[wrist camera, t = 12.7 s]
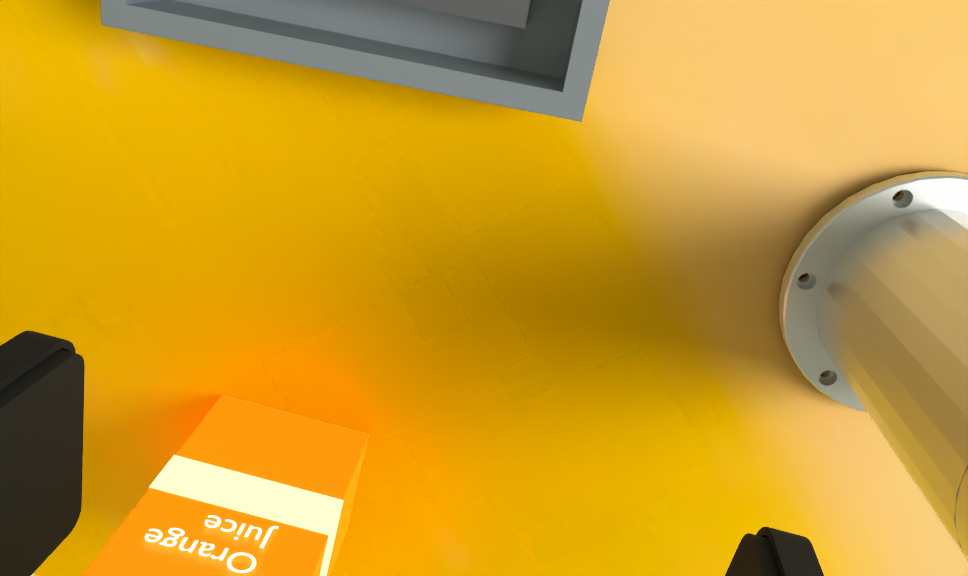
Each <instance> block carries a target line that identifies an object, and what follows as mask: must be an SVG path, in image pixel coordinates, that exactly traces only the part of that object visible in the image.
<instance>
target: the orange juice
mask: <svg viewBox="0 0 968 576" xmlns="http://www.w3.org/2000/svg"><path fill="white" fill-rule="evenodd" d="M368 438H369V433H365V432H362V431H358V430H354V429H351V428H347V427H343V426H340V425H336V424H332V423H328V422H325V421H321V420H317V419H314V418H310V417H306V416H302V415H299V414H295V413H291V412H288V411H284V410H280V409H276V408H273V407H269V406H265V405H262V404H258V403H254V402H251V401H247V400H243V399H239V398H236V397H232V396H228V395H225V394H222V395H221V397H220V398H219V399H218V400H217V402H216V403H215V404H214V406H213V407H212V408H211V410H210V411H209V412H208V413H207V415H206V416H205V417H204V419H203V420H202V421H201V422H200V424H199V425H198V426H197V428H196V429H195V430H194V431H193V433H192V434H191V435H190V437H189V438H188V439H187V440H186V442H185V443H184V444H183V446H182V447H181V448H180V449H179V451H178V452H177V453H176V455H173V457H172V458H171V459H170V461H169V462H168V463H167V464H166V466H165V467H164V468H163V469H162V471H161V472H160V473H159V475H158V476H157V477H156V478H155V480H154V481H153V482H152V484H151V485H150V486H149V489H148V491H147V492H146V493H145V495H144V496H143V497H142V498H141V500H140V501H139V502H138V504H137V505H136V506H135V507H134V509H133V510H132V511H131V513H130V514H129V515H128V516H127V518H126V519H125V520H124V522H123V523H122V524H121V525H120V527H119V528H118V529H117V531H116V532H115V533H114V534H113V536H112V537H111V538H110V540H109V541H108V542H107V543H106V545H105V546H104V547H103V549H102V550H101V551H100V552H99V554H98V555H97V556H96V558H95V559H94V560H93V561H92V563H91V564H90V565H89V567H88V568H87V569H86V570H85V572H84V573H83V574H82V576H330V575H331V573H332V570H333V567H334V564H335V562H336V559H337V556H338V554H339V551H340V548H341V546H342V543H343V540H344V538H345V535H346V532H347V528H348V524H349V519H350V515H351V511H352V507H353V502H354V498H355V494H356V490H357V485H358V481H359V477H360V473H361V468H362V464H363V460H364V455H365V451H366V447H367V443H368Z"/></svg>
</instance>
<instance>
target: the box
mask: <svg viewBox="0 0 968 576" xmlns="http://www.w3.org/2000/svg"><path fill="white" fill-rule="evenodd" d="M609 1H610V0H101V25H104V26H109V27H114V28H119V29H124V30H128V31H133V32H138V33H143V34H148V35H153V36H158V37H163V38H168V39H173V40H178V41H183V42H188V43H193V44H198V45H203V46H208V47H213V48H218V49H223V50H228V51H233V52H238V53H243V54H248V55H253V56H258V57H262V58H267V59H272V60H277V61H282V62H287V63H292V64H297V65H302V66H307V67H312V68H317V69H322V70H327V71H332V72H337V73H342V74H347V75H352V76H357V77H362V78H367V79H372V80H377V81H382V82H387V83H392V84H396V85H401V86H406V87H411V88H416V89H421V90H426V91H431V92H436V93H441V94H446V95H451V96H456V97H461V98H466V99H471V100H476V101H481V102H486V103H491V104H496V105H501V106H506V107H511V108H516V109H521V110H526V111H530V112H535V113H540V114H545V115H550V116H555V117H560V118H565V119H570V120H575V121H580V122H582V117H583V113H584V109H585V104H586V100H587V96H588V91H589V87H590V83H591V79H592V74H593V70H594V66H595V61H596V57H597V53H598V48H599V44H600V40H601V36H602V31H603V27H604V23H605V18H606V14H607V10H608V5H609Z"/></svg>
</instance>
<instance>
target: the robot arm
mask: <svg viewBox="0 0 968 576" xmlns="http://www.w3.org/2000/svg"><path fill="white" fill-rule="evenodd" d="M898 191H900V194H899V196H898V197H896V198H893V196H894V195H895V193H896V192H898ZM805 273H807V274H806V276H805V277H804V278H803V279H798V278H799V277H800V276H801V275H803V274H805ZM779 322H780V326H781V330H782V334H783V339H784V342H785V344H786V346H787V348H788V350H789V352H790V354H791V356H792V358H793V360H794V362H795V363H796V365H797V366H798V368H799V369H800V371H801V372H802V374H803V375H804V376H805V377H806V378H807V379H808V380H809V382H810V383H811V384H812V385H813V386H814V387H815V388H817V389H818V390H819V391H820V392H822V393H824V394H825V395H827V396H828V397H830V398H831V399H833V400H835V401H836V402H838V403H840V404H843V405H845V406H848V407H850V408H853V409H855V410H858V411H862V412H867V413H868V414H869V416H870V417H871V418H872V420H873V421H874V423H875V424H876V426H877V427H878V429H879V430H880V432H881V433H882V435H883V436H884V438H885V439H886V441H887V442H888V444H889V445H890V447H891V448H892V450H893V451H894V453H895V454H896V455H897V457H898V458H899V460H900V461H901V463H902V464H903V466H904V467H905V469H906V470H907V472H908V473H909V475H910V476H911V478H912V479H913V481H914V482H915V484H916V485H917V487H918V488H919V489H920V491H921V492H922V494H923V495H924V497H925V498H926V500H927V501H928V503H929V504H930V506H931V507H932V509H933V510H934V512H935V513H936V515H937V516H938V518H939V519H940V521H941V522H942V524H943V525H944V526H945V528H946V529H947V531H948V532H949V534H950V535H951V537H952V538H953V540H954V541H955V543H956V544H957V546H958V547H959V549H960V550H961V552H962V553H963V555H964V556H965V558H966V559H967V561H968V174H964V173H959V172H948V171H925V172H919V173H913V174H906V175H900V176H897V177H894V178H891V179H888V180H885V181H882V182H879V183H876V184H873V185H871V186H869V187H867V188H865V189H863V190H861V191H859V192H857V193H855V194H854V195H852V196H850V197H848V198H846V199H845V200H844V201H842V202H841V203H840V204H838V205H837V206H836V207H834V208H833V209H832V210H830V211H829V212H828V213H826V214H825V215H824V216H823V217H822V218H821V219H820V220H819V221H818V223H817V224H816V225H815V226H814V227H813V228H812V229H811V230H810V231H809V232H808V233H807V234H806V236H805V237H804V239H803V240H802V242H801V243H800V245H799V246H798V248H797V249H796V251H795V252H794V254H793V256H792V258H791V260H790V263H789V265H788V268H787V270H786V272H785V275H784V277H783V282H782V287H781V292H780V297H779ZM824 371H826V372H824ZM822 372H824V373H822ZM83 410H84V360H83V358H82V356H80V355H79V354H76V353H75V348H74V346H73V344H72V343H71V342H70V341H68V340H64V339H60V338H56V337H53V336H49V335H45V334H41V333H38V332H34V331H25V332H22V333H20V334H18V335H17V336H15V337H14V338H12V339H11V340H9V341H7V342H6V343H4V344H3V345H1V346H0V576H31V575H32V574H33V573H34V571H35V570H36V569H37V568H38V567H39V566H40V565H41V564H42V563H43V562H44V561H45V560H46V559H47V557H48V556H49V555H50V554H51V553H52V552H53V551H54V550H55V549H56V548H57V547H58V546H59V544H60V543H61V542H62V541H63V540H64V539H65V538H66V537H67V536H68V535H69V534H70V532H71V531H72V530H73V528H74V526H75V525H76V523H77V520H78V518H79V515H80V512H81V503H82V456H83ZM725 576H824V575H823V572H822V569H821V567H820V564H819V562H818V559H817V556H816V554H815V551H814V549H813V546H812V544H811V542H810V541H809V539H807V538H806V537H803V536H799V535H795V534H792V533H788V532H784V531H780V530H777V529H773V528H769V527H762V528H761V529H760V530H759V531H758V533H757V534H756V535H753V534H749V533H748V534H746V535H745V536H744V537H743V538H742V540H741V542H740V544H739V546H738V548H737V550H736V553H735V555H734V557H733V559H732V561H731V564H730V566H729V568H728V570H727V572H726V575H725Z"/></svg>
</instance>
